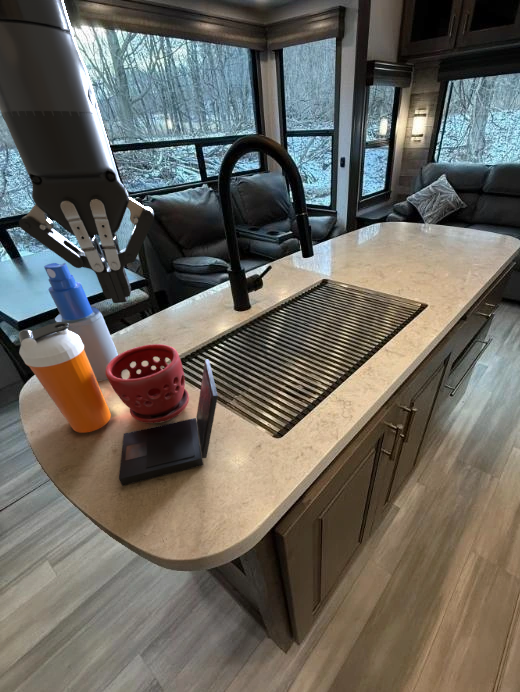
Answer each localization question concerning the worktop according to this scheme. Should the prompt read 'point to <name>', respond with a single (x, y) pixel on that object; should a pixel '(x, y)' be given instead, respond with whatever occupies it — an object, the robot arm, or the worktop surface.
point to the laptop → (160, 451)
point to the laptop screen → (206, 408)
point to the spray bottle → (81, 318)
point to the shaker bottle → (65, 375)
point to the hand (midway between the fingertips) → (120, 300)
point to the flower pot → (150, 383)
